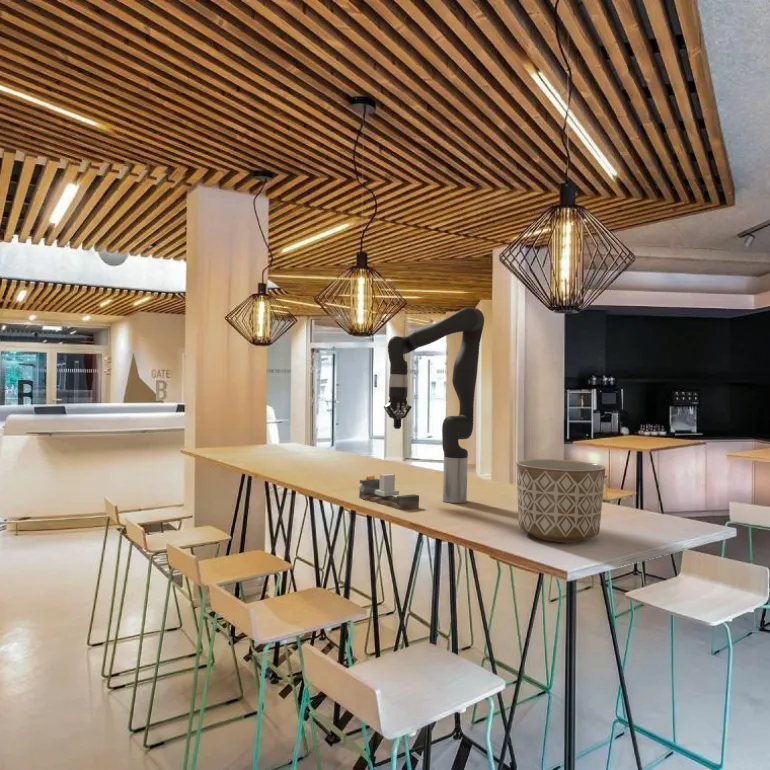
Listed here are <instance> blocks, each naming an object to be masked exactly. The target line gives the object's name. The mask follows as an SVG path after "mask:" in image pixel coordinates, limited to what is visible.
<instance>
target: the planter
mask: <svg viewBox="0 0 770 770" xmlns="http://www.w3.org/2000/svg"><path fill="white" fill-rule="evenodd" d="M605 478H606V466H604V465H602V464H598V463H593V462H586V461H580V460H568V459H551V458H550V459H549V458H547V459H546V458H545V459H544V458H540V459H539V458H535V459H533V458H532V459H521V460H517V461H516V484H517V485H516V487H517V512H518V526H519V528H520V529H521V530H523V531H525V532H527V533H529V534H532V535H533V537H535V538H537V539H539V540H543V541H548V542H555V543H556V542H557V543H579V542H582V541H584V539H590V538H593V537H596V536H598V534H600V531H601V530H600V529H601V519H602V508H603V499H604V497H603V496H604V488H605V487H604V486H605Z"/></svg>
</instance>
